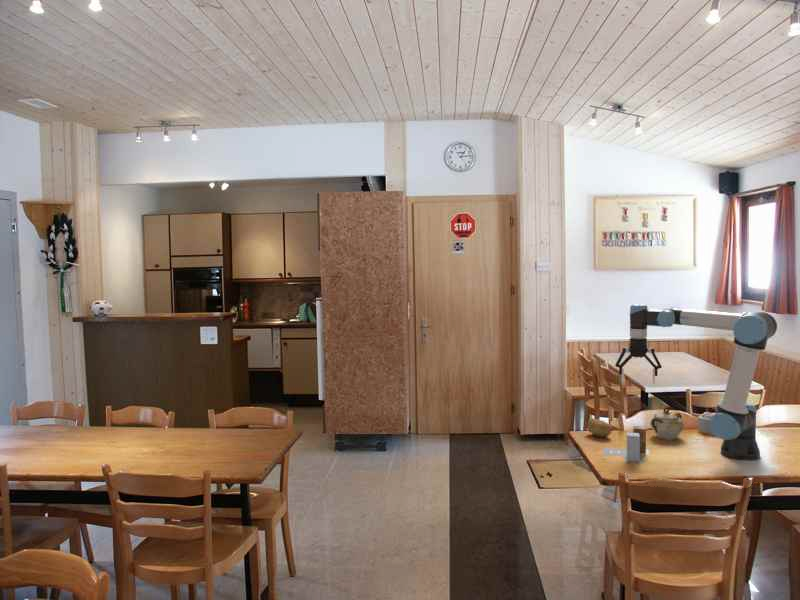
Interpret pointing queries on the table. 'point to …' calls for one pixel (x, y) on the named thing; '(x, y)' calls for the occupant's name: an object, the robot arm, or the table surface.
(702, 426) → the lumpy-topped squat cylinder
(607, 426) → the potato
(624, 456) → the code tile
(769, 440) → the table surface
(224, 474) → the table surface
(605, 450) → the code tile
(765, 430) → the table surface
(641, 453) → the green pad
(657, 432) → the sugar bowl
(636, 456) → the bluegrey block
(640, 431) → the walnut block
